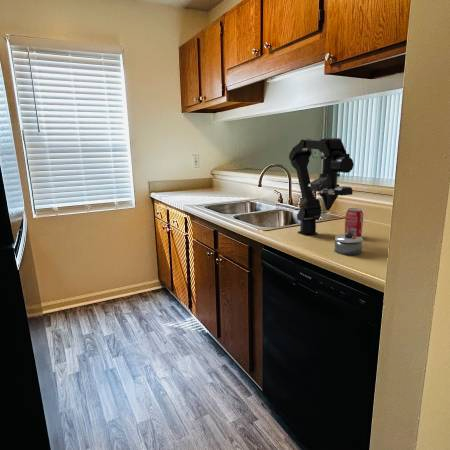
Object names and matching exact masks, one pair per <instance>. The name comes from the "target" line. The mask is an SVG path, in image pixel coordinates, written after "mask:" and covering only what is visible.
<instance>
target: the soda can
mask: <svg viewBox="0 0 450 450" xmlns="http://www.w3.org/2000/svg"><path fill="white" fill-rule="evenodd" d="M344 219H345V221H344V234H345V233H353V235H355V236H360V237H362V233H363V227H364V226H363V225H364V212H363V209H362V208H356V207H355V208H354V207H353V208H351V207H350V208H347V211H346V212H345V218H344Z"/></svg>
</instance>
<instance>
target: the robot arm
mask: <svg viewBox="0 0 450 450" xmlns="http://www.w3.org/2000/svg"><path fill="white" fill-rule="evenodd" d="M343 143H344V142H343V141H342V138H339V137H337V138H336V137H335V138H334V137H326V138H320V139H312V138H302V139H301V140H300V141H299V142H298V143H297V144H296V145H295V146H293V147H292V149H291V151H290V153H289V155H288V159H289V161H290V164H291V166H292V167H293V168H294V169H295V170H296V175H297V179H298V184H299V189H300V193H301V198H302V199H301V200H302V201H301V202H300V207H299V208H300V210H299V211H298V212H297V214H296V218H297V220H296V221H300V227H299V228H300V230H298V231H297V233H298V234H300V235H304V236H312V235H318V233H319V232H316V229H317V224H316V221H320V218H321V215H322V210H323V209H322V205H321V200H320V199H319V198H316V197H315V196H314V191H315V192H317V195H319V196H320V197H321V198H322V201H323V204H324V208H325V211H327V212H328V211H330V210H331V208H332V207H333V205H334V203H335V201H336V200H337V198H338V197H339V196H351V195H353V190H354V189H353V188H352V187H351V186H346V185H345V186H340V184H338V177H340V176H341V174H340V173H345V174H348V173H350V172H351V171H352V170H353V169H354V164H355V163H354V161H353V159H352V158H351V157H350V155H351V154H350V153H347V150H346V148H345V146H344V144H343ZM312 150H318V151H319V152H320V153H323V154H322V156H320V160H322V173H319V176H318V178H316V179H314V180H312V181H311V179H310V174H309V169H308V165H309V164H310V158H311V156H312V154H313V152H312Z"/></svg>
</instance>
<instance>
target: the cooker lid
mask: <svg viewBox="0 0 450 450" xmlns="http://www.w3.org/2000/svg"><path fill="white" fill-rule="evenodd" d="M335 240H336V241H338V242H344V243H359V242H362V243H363V241H364V238H363V237H362V236H355V235H353V233H345V232H344V234H340V235H336V236H335V237H334V241H335Z"/></svg>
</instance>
